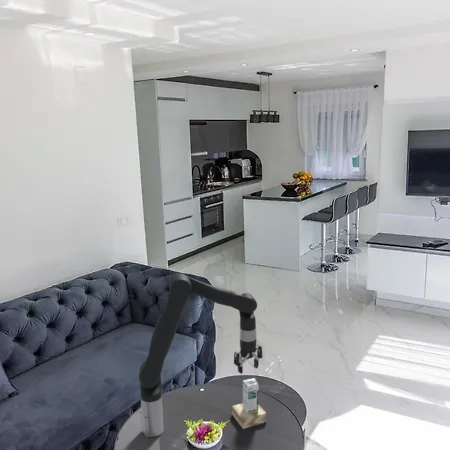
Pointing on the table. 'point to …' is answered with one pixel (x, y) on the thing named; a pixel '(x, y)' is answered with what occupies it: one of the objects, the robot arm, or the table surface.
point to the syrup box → (250, 395)
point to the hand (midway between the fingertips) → (248, 370)
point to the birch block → (248, 416)
